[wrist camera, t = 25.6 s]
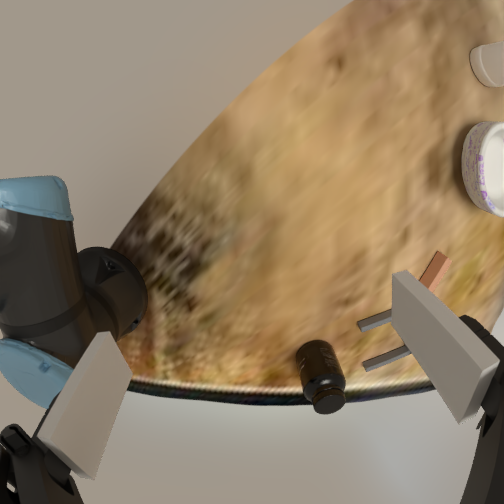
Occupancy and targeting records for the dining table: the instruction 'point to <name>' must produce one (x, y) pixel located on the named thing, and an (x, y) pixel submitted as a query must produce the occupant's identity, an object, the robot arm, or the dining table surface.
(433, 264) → the holder
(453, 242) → the dining table surface
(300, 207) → the dining table surface
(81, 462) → the robot arm
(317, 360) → the supplement bottle
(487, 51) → the bottle
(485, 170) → the paper bowls
